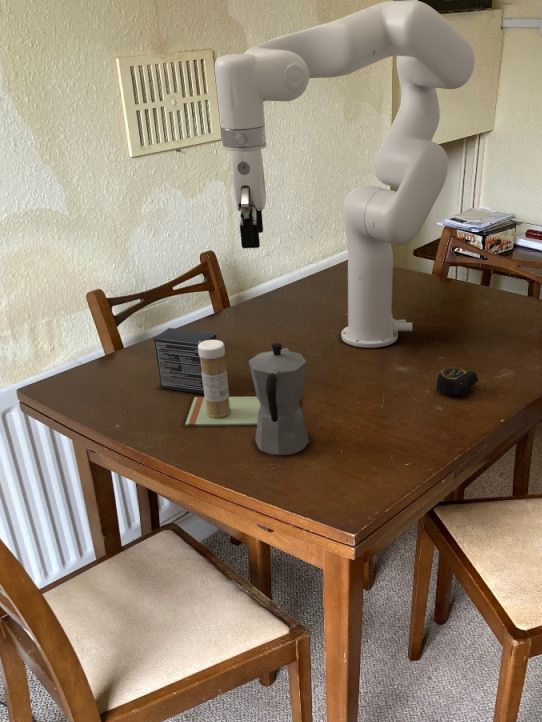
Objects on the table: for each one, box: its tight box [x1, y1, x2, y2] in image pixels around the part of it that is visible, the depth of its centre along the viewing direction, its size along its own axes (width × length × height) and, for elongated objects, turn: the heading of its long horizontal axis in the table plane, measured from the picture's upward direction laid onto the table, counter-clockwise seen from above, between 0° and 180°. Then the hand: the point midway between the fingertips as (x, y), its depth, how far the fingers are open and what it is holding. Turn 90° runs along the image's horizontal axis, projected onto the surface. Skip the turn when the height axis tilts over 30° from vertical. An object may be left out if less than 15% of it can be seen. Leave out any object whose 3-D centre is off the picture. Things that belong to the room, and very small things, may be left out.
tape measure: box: [436, 366, 479, 397], centre depth 147 cm, size 7×7×4 cm
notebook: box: [184, 395, 260, 427], centre depth 142 cm, size 20×11×1 cm, turn 90°
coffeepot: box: [248, 342, 310, 456], centre depth 126 cm, size 15×9×18 cm, turn 176°
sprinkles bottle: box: [198, 339, 231, 418], centre depth 137 cm, size 5×5×14 cm
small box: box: [153, 327, 218, 395], centre depth 149 cm, size 11×6×10 cm, turn 71°
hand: (252, 239), depth 142 cm, fingers open, 9 cm apart
